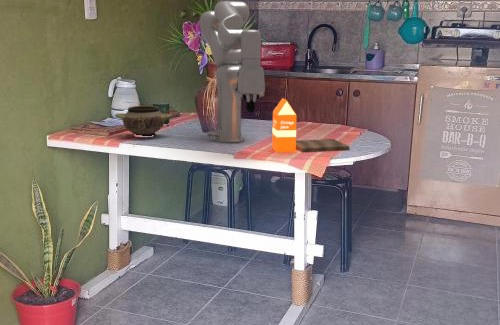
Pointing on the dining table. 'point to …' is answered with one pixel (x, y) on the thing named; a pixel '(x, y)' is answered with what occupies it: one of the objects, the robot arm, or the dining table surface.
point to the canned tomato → (163, 109)
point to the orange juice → (284, 128)
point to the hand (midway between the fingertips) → (250, 112)
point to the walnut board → (320, 145)
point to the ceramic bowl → (143, 119)
